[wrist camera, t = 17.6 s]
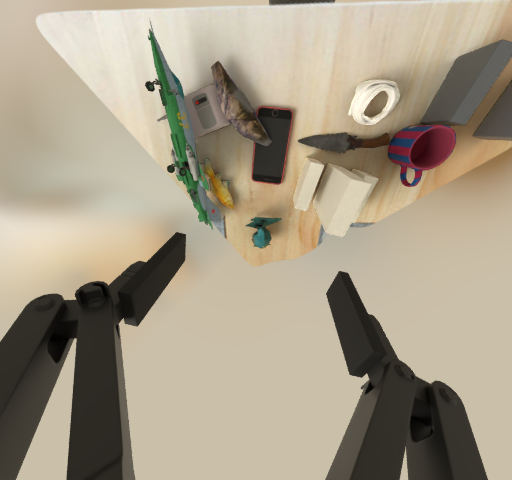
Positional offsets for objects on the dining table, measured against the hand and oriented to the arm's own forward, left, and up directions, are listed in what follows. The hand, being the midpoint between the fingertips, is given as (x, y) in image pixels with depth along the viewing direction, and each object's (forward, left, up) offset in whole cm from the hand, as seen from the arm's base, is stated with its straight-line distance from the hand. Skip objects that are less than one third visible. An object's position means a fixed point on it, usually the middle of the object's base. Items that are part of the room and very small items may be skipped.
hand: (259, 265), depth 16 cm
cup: (-11, +24, -31) cm, 41 cm away
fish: (+2, -10, -29) cm, 31 cm away
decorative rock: (-13, -7, -29) cm, 33 cm away
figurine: (+9, -2, -29) cm, 30 cm away
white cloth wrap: (-17, +14, -31) cm, 38 cm away
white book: (-2, +12, -31) cm, 33 cm away
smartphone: (-6, -2, -31) cm, 31 cm away
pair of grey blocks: (-21, +30, -31) cm, 48 cm away
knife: (-10, +12, -31) cm, 35 cm away
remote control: (-9, -17, -31) cm, 36 cm away
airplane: (-1, -20, -22) cm, 30 cm away
